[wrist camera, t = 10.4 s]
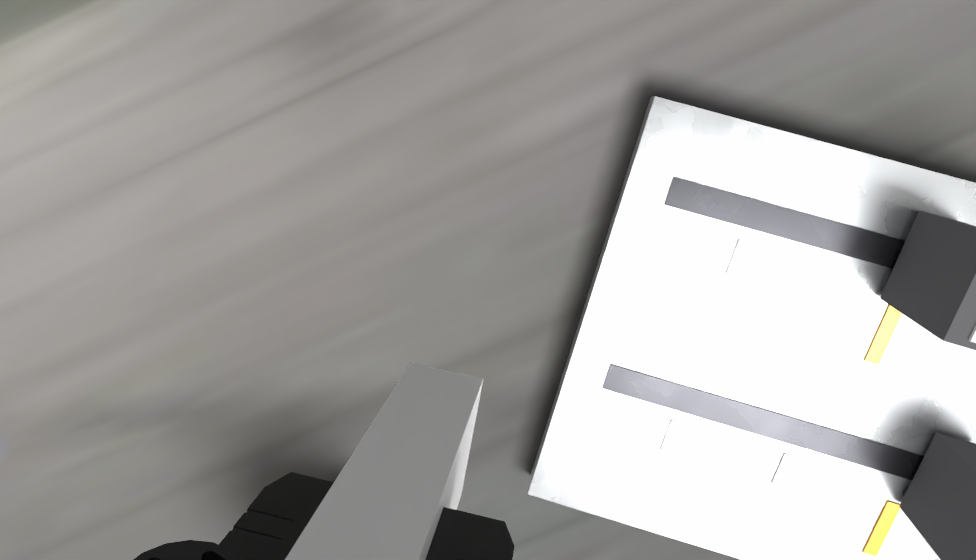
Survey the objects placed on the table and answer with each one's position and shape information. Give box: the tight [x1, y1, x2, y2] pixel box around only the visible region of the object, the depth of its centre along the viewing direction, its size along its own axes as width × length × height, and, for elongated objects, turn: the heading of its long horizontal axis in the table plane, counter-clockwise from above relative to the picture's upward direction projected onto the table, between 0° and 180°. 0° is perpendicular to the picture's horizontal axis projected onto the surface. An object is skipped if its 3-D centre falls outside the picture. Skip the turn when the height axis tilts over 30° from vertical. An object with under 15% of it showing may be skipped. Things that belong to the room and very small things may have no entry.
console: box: [528, 96, 976, 560], centre depth 35 cm, size 22×24×2 cm
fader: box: [880, 210, 976, 350], centre depth 29 cm, size 4×2×6 cm, turn 165°
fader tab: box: [899, 432, 976, 560], centre depth 32 cm, size 4×2×6 cm, turn 165°
